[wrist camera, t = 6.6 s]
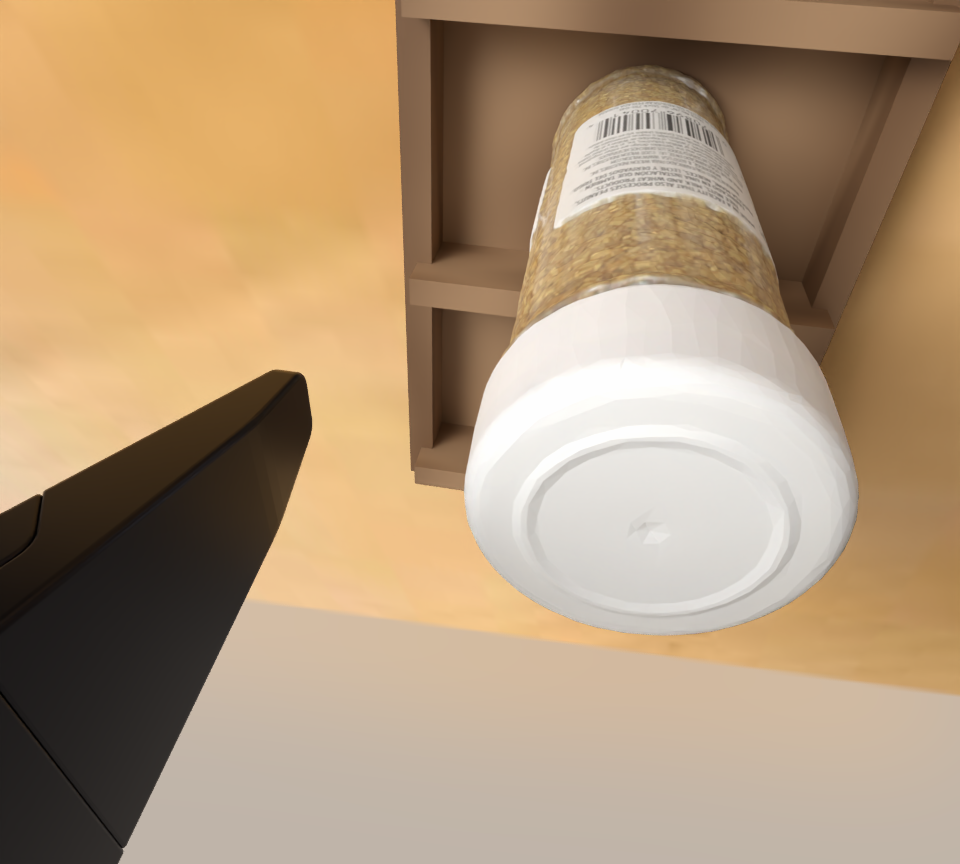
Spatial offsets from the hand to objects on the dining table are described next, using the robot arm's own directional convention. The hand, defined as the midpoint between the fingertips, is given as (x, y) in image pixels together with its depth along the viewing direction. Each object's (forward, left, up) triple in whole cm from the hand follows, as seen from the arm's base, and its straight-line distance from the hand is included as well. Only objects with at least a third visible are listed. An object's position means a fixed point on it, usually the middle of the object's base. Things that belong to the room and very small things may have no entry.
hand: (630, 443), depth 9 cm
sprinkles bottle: (0, 0, -12) cm, 12 cm away
